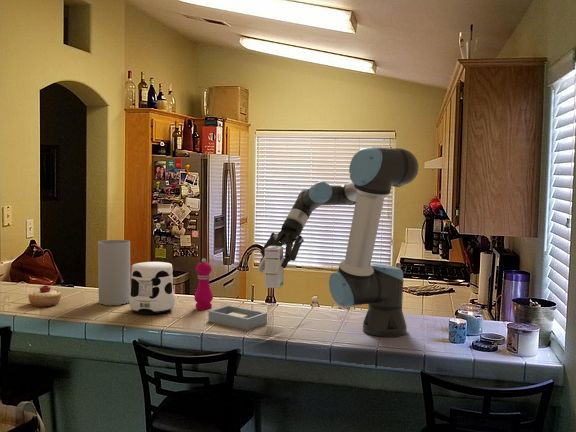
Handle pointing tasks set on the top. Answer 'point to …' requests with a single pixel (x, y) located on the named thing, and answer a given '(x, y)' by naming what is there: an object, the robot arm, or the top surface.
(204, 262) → the pepper mill
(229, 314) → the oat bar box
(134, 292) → the milk container
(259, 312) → the tray
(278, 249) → the syrup box
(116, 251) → the cylinder vase
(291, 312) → the top surface
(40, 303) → the pastry
